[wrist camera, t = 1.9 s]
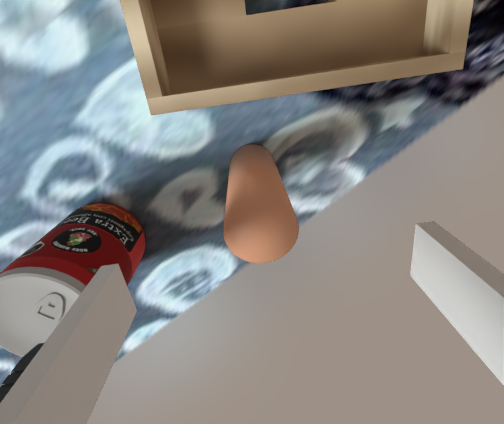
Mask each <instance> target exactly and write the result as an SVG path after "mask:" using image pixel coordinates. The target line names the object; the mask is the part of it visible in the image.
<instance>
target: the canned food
mask: <svg viewBox="0 0 504 424" xmlns="http://www.w3.org/2000/svg"><path fill="white" fill-rule="evenodd" d="M144 251H145V234H144V230H143V228H142V226H141V224H140V223H139V221H138V220H137V218H136V217H135V216H133V215H132V214H131V213H130V212H129V211H127V210H126V209H124V208H122V207H119V206H117V205H113V204H109V203H95V204H90V205H86V206H83V207H80V208H79V209H77V210H75V211H74V212H72V213H71V214H70V215H69V216H68V217H66V218H65V219H64V220H63V221H62V222H60V223H59V224H58V225H57V226H56V227H54V228H53V229H52V230H51V231H50V232H48V233H47V234H46V235H45V236H44V237H42V238H41V239H40V240H39V241H38V242H36V243H35V244H34V245H33V246H32V247H30V248H29V249H28V250H27V251H26V252H24V253H23V254H22V255H21V256H20V257H18V258H17V259H16V260H15V261H14V262H12V263H11V264H10V265H9V266H8V267H7V268H6V269H4V270H3V271H2V272H1V273H0V346H1V347H3V348H5V349H6V350H8V351H10V352H12V353H14V354H16V355H19V356H21V357H23V356H24V355H26V354H27V353H28V352H29V351H30V350H31V349H33V348H34V347H35V346H36V345H37V344H39V343H45V342H46V340H47V339H48V338H49V336H50V335H51V334H52V332H53V331H54V330H55V328H56V327H57V326H58V324H59V323H60V321H61V320H62V319H63V317H64V316H65V315H66V313H67V312H68V311H69V309H70V308H71V307H72V305H73V304H74V302H75V301H76V300H77V298H78V297H79V296H80V294H81V293H82V292H83V290H84V289H85V288H86V286H87V285H88V283H89V282H90V281H91V279H92V278H93V277H94V275H95V274H96V273H97V271H98V270H99V269H100V267H101V266H105V265H112V264H119V267H120V269H121V272H122V274H123V277H124V279H125V282H126V285H127V286H128V284H129V282H130V280H131V278H132V276H133V274H134V272H135V270H136V268H137V266H138V264H139V263H140V261H141V259H142V257H143V254H144Z"/></svg>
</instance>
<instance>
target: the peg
mask: <svg viewBox="0 0 504 424" xmlns="http://www.w3.org/2000/svg"><path fill="white" fill-rule="evenodd" d="M298 232H299V226H298V221H297V218H296V215H295V213H294V210H293V208H292V205H291V203H290V200H289V197H288V195H287V192H286V190H285V187H284V185H283V182H282V180H281V177H280V174H279V172H278V169H277V167H276V164H275V162H274V159H273V157H272V155H271V153H270V152H269V151H268V150H267V149H266V148H264V147H263V146H260V145H257V144H248V145H245V146H242V147H240V148H239V149H238V150H237V151H236V152H235V153H234V154H233V156H232V158H231V161H230V169H229V179H228V189H227V199H226V209H225V219H224V231H223V233H224V239H225V242H226V244H227V246H228V248H229V249H230V250H231V251H232V253H234V254H235V255H236V256H237V257H239V258H241V259H243V260H245V261H248V262H252V263H267V262H272V261H275V260H277V259H279V258H281V257H283V256H284V255H285V254H287V253H288V252H289V251H290V250H291V249H292V247H293V246H294V244H295V242H296V240H297V237H298Z"/></svg>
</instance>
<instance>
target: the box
mask: <svg viewBox="0 0 504 424" xmlns="http://www.w3.org/2000/svg"><path fill="white" fill-rule="evenodd" d="M473 1H474V0H327V3H322V4H316V5H309V6H303V7H296V8H290V9H284V10H277V11H271V12H264V13H258V14H252V15H246V9H245V0H120V3H121V7H122V10H123V14H124V18H125V21H126V25H127V29H128V32H129V36H130V40H131V43H132V47H133V51H134V54H135V58H136V62H137V65H138V69H139V73H140V76H141V80H142V84H143V87H144V91H145V95H146V98H147V102H148V106H149V109H150V113H151V115H157V114H164V113H170V112H177V111H184V110H190V109H197V108H204V107H211V106H217V105H224V104H231V103H237V102H244V101H251V100H258V99H264V98H271V97H278V96H285V95H291V94H298V93H305V92H311V91H318V90H325V89H332V88H338V87H345V86H352V85H358V84H365V83H372V82H379V81H385V80H392V79H399V78H405V77H412V76H419V75H426V74H432V73H439V72H446V71H453V70H459V69H463V65H464V58H465V52H466V46H467V39H468V33H469V27H470V20H471V14H472V8H473Z"/></svg>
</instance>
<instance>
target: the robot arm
mask: <svg viewBox="0 0 504 424" xmlns="http://www.w3.org/2000/svg"><path fill="white" fill-rule="evenodd" d="M410 275H411V277H412V278H413V279H414V280H415V281H416V283H417V284H418V285H419V286H420V287H421V288H422V290H423V291H424V292H425V293H426V294H427V296H428V297H429V298H430V299H431V300H432V301H433V303H434V304H435V305H436V306H437V307H438V308H439V310H440V311H441V312H442V313H443V314H444V316H445V317H446V318H447V319H448V320H449V321H450V323H451V324H452V325H453V326H454V327H455V329H456V330H457V331H458V332H459V333H460V335H461V336H462V337H463V338H464V339H465V340H466V342H467V343H468V344H469V345H470V346H471V347H472V349H473V350H474V351H475V352H476V353H477V355H478V356H479V357H480V358H481V359H482V360H483V362H484V363H485V364H486V365H487V366H488V368H489V369H490V370H491V371H492V372H493V373H494V375H495V376H496V377H497V378H498V379H499V381H500V382H501V383H502V384H503V385H504V274H503V273H502V272H501V271H499V270H498V269H497V268H495V267H494V266H493V265H491V264H490V263H489V262H487V261H486V260H485V259H483V258H482V257H481V256H479V255H478V254H477V253H475V252H474V251H473V250H471V249H470V248H469V247H467V246H466V245H465V244H463V243H462V242H461V241H460V240H458V239H457V238H455V237H454V236H453V235H452V234H450V233H449V232H448V231H446V230H445V229H443V228H442V227H441V226H440V225H438V224H437V223H436V222H434V221H432V222H424V223H417V224H416V228H415V237H414V247H413V256H412V264H411V274H410ZM136 312H137V310H136V307H135V305H134V302H133V300H132V297H131V295H130V292H129V290H128V287H127V285H126V282H125V279H124V277H123V274H122V272H121V269H120V267H119V264H112V265H105V266H101V267H100V269H99V270H98V271H97V273H96V274H95V275H94V277H93V278H92V279H91V281H90V282H89V283H88V285H87V286H86V288H85V289H84V290H83V292H82V293H81V294H80V296H79V297H78V298H77V300H76V301H75V302H74V304H73V305H72V307H71V308H70V309H69V311H68V312H67V313H66V315H65V316H64V317H63V319H62V320H61V321H60V323H59V324H58V326H57V327H56V328H55V330H54V331H53V332H52V334H51V335H50V336H49V338H48V339H47V340H46V342H45V343H39V344H37V345H36V346H35V347H34V348H33V349H31V350H30V351H29V352H28V353H27V354H26V355H24V356H23V357H22V359H21V360H20V361H19V362H18V364H17V365H16V366H15V368H14V369H13V370H12V371H11V375H8V377H7V378H6V379H5V380H4V382H3V383H2V384H1V385H2V386H1V387H0V424H87V422H88V419H89V417H90V415H91V413H92V410H93V408H94V406H95V404H96V401H97V399H98V397H99V395H100V392H101V390H102V388H103V386H104V384H105V381H106V379H107V377H108V374H109V372H110V370H111V368H112V366H113V363H114V361H115V359H116V357H117V354H118V352H119V350H120V348H121V345H122V343H123V341H124V339H125V336H126V334H127V332H128V330H129V327H130V325H131V323H132V321H133V318H134V316H135V314H136Z"/></svg>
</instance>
